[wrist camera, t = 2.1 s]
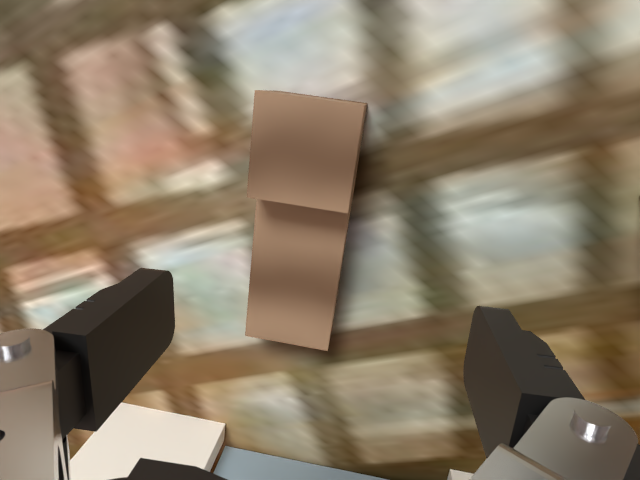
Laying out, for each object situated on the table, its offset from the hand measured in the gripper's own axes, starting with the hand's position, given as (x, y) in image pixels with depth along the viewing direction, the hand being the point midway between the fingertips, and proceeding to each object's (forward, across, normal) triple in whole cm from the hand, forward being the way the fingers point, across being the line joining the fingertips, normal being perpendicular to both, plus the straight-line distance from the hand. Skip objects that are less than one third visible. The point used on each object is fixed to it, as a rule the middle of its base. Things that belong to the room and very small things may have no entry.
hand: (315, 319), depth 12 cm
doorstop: (+15, +2, +2) cm, 15 cm away
